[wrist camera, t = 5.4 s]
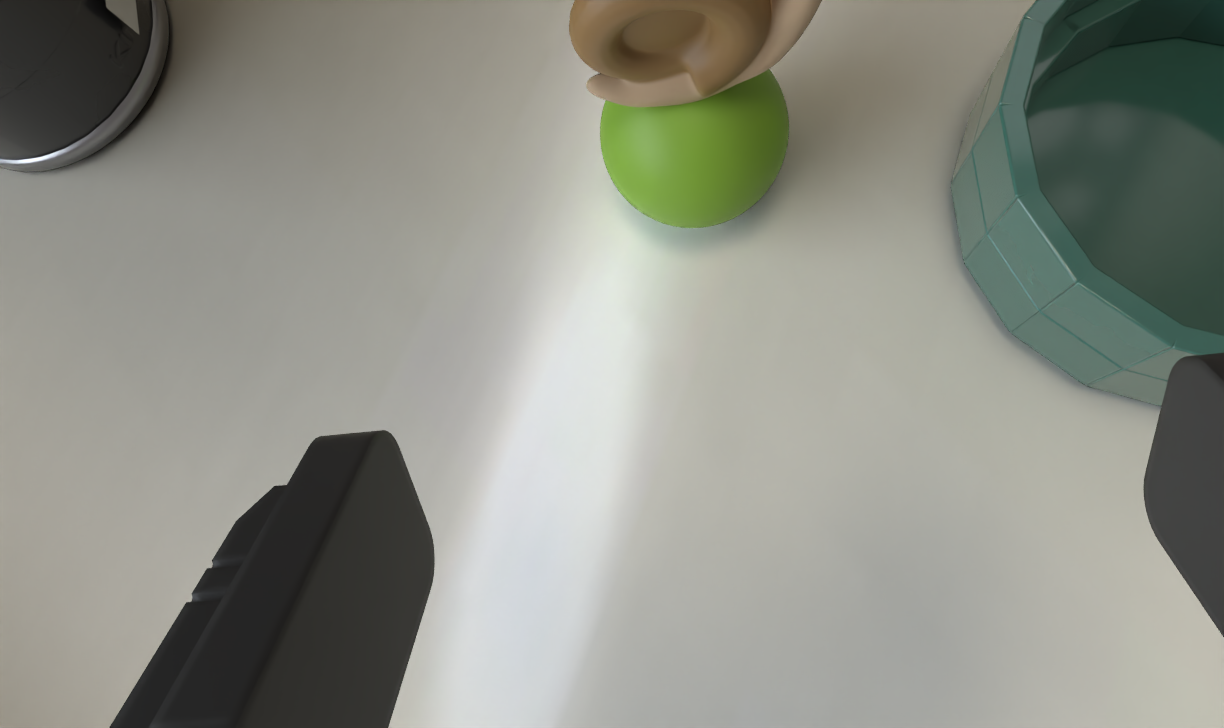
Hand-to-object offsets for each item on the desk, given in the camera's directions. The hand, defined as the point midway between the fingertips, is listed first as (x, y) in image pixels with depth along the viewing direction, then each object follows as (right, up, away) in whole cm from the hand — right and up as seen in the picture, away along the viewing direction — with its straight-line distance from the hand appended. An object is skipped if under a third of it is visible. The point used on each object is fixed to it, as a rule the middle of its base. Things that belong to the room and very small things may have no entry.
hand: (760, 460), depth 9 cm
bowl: (+15, +6, +16) cm, 22 cm away
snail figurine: (+2, +7, +18) cm, 19 cm away
